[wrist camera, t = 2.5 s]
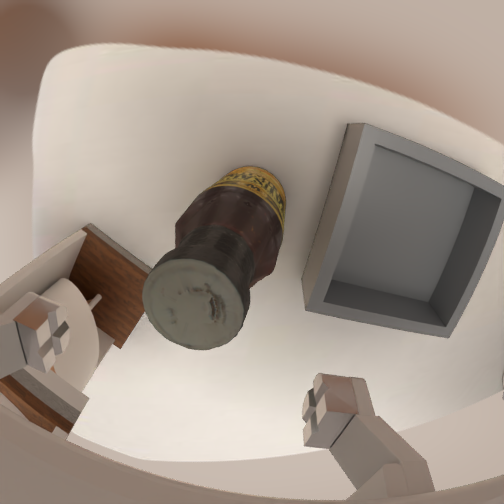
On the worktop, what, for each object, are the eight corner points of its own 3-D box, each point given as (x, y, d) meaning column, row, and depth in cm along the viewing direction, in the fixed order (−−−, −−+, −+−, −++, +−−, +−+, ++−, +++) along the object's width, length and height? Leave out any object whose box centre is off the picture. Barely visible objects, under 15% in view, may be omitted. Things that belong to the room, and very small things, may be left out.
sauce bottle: (296, 182, 29) (327, 284, 11) (266, 239, 31) (248, 396, 13) (232, 151, 28) (148, 198, 10) (205, 210, 31) (108, 333, 12)
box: (480, 178, 27) (513, 191, 21) (428, 308, 33) (448, 338, 27) (347, 123, 26) (364, 123, 21) (301, 279, 32) (305, 310, 27)
